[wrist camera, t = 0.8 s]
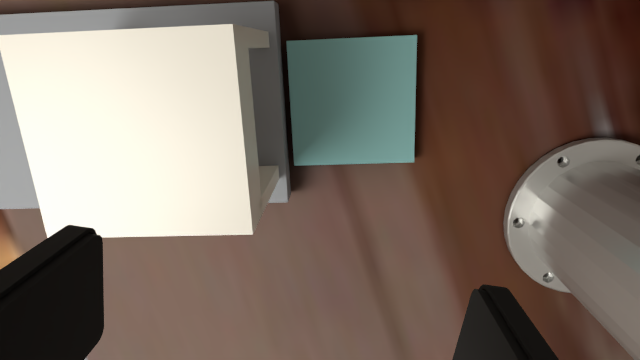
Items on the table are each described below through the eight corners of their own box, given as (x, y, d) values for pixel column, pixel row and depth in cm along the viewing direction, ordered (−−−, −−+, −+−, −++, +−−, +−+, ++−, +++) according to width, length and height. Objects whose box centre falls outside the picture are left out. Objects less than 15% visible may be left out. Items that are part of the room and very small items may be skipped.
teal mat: (415, 35, 30) (417, 34, 29) (412, 159, 32) (414, 162, 32) (287, 41, 30) (286, 40, 30) (295, 162, 33) (294, 165, 32)
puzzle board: (278, 3, 30) (274, 0, 28) (290, 193, 34) (287, 202, 32) (-49, 20, 31) (-74, 18, 29) (2, 200, 35) (-18, 209, 33)
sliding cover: (268, 31, 28) (232, 23, 19) (279, 178, 31) (252, 234, 22) (107, 39, 29) (-4, 35, 20) (133, 182, 32) (47, 238, 23)
